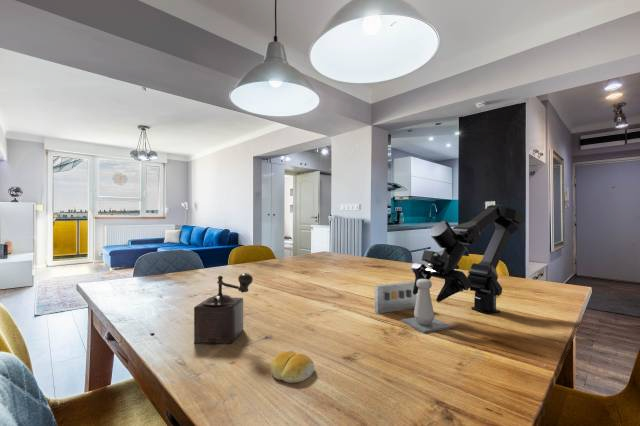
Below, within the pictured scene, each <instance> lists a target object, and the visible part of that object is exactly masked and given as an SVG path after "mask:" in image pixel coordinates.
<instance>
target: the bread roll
mask: <svg viewBox="0 0 640 426" xmlns="http://www.w3.org/2000/svg"><path fill="white" fill-rule="evenodd" d="M313 361H314V360H312V359H311V357H310V356H308V355H306V354H304V353H296V352H295V351H294V350H293V351H291V350H287V351H283V352H280V353H278V354H277V355H275V357H273V359H272V362H271V366H270V372H271V375H272V377H274V378H275V379H277V380H278V381H279V380H280V381H283V382H285V383H291V384H293V383H300V382H304V381H305V380H307V379H309V377H311V376H312V375H313V374H314V371H315V364H314V362H313Z"/></svg>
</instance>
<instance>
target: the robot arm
mask: <svg viewBox="0 0 640 426" xmlns="http://www.w3.org/2000/svg"><path fill="white" fill-rule="evenodd" d="M524 221H525V216H524V214H523V213H522V212H521V211H520V210H517V209H513V208H509V207H506V206H505V205H503V204H502V205H501V204H489V205H487V206H486V208H485V209H483V210H482V211H481V212H480V213H478V214H477V215H475V216H474V217H473V218H472V219H471V220H469V221H468V222H464V223H460V224H458V225H455V226H453V227H451V225H450V223H449V222H448V221H447V220H446V221H445V220H441V221H440V223H437V224H435V225H434V226H433V227H431V228H430V229H429V235H430V236H431V238H432V239H433V241H434V242H435V243H436V244H437V246H438V247H439V248H441V249H442V250H439V251H433V250H427V249H425V250H423V253H422V256H421V259H420V260H421V261H423V262H426V263H427V264H428V267H429V268H428V267H427V265H426V264H424V263H419V262H413V264H412V265H411V267H410V269H411V271H412V273H413V274H414V277H415V278H414V282H415V284H414V288H413V294H414V295H416V294H418V288H419V287H417V285H416V282H417V280H419V279H428V280H431V278H437V279H441V280H444V284H443V286H442V288H441V289H440V291H439V292H438V295H437V296H436V299H435V300H436V302H437V303H440V302H442V301H444V300H446V299H447V298H449V297H451V296H453V295H455V294H457V293H460V292H461V293H462V292H464V291H471V292H474V300H473V301H474V303H473V304H474V305H473V306H471V307H470V308H471V309H472V310H474V311H477V312H479V313H483V314H486V315H489V314H495V313H500V312H501V310H500V309H498V308H497V297H500V296H501V295H502V293H503V287H502V285H501V284H500V283H499V281H498V280H499V279H498V278H499V276H498V272H497V268H498V265H499V262H500V260H501V258H502V255H503V254H504V251H505V249H506V246H507V244H508V242H509V240H510V238H511V235H513V234H514V233H515V232H517V231H518V230H520V228H521V226H522V225H523V223H524ZM492 223H494V228H495V230H494V232H493V235H492V237H491V239H490V240H489V243H488V245H487V248H486V249H485V252H484V254H483V256H482V257H481V261H480V262H479V263H472V264H471V265H470V270H469V271H468V272H467V274H468V275H466V274H465V272H463V271H461V270H459V269H460V266H459V263H460V260H461V259H462V258H463V257H469V256H470V253H469V251H468V247H465V246H464V245H470V246H471V245H472V246H473V245H475V244H476V243H477V241H478V240H479V239H480V238H481V233H482V232H483V231H484V230H485V229H486V228H487V227H489V226H490V225H491V224H492ZM430 268H431V269H430Z"/></svg>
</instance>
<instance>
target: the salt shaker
mask: <svg viewBox="0 0 640 426" xmlns="http://www.w3.org/2000/svg"><path fill="white" fill-rule="evenodd" d="M416 285H417V287H419V288H418V293H417V299H416V305H415V308H414V311H413V315H414V317H415V319H416V321H417V323H418V324H420V325H425V326H426V325H431V323H432V321H433V319H434V318H435V311H434V307H433V302H432V301H433V300H432V297H431V291H430V289H431V288H432V287H433V285H432V281H431V279H429V280H428V279H419V280H417V282H416Z"/></svg>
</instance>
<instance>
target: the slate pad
mask: <svg viewBox="0 0 640 426" xmlns="http://www.w3.org/2000/svg"><path fill="white" fill-rule="evenodd" d="M401 322H403V323H404V324H406V325H408V326H410V327H412V328H414V329H415V330H417V331H420V333H422V334H425V333H426V334H427V333H431V332H437V331H442V330H449V329H452V328H453V327H452V325H450V324H449V323H448V324H447V323H446V322H444V321H441V320H439V319H436V318H435V317H434V319H433V321H432V323H431V325H426V326H425V325H420V324H418V323H417V321H416V319H415V316H414V317H410V318H409V317H408V318H403V319H401Z"/></svg>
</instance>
